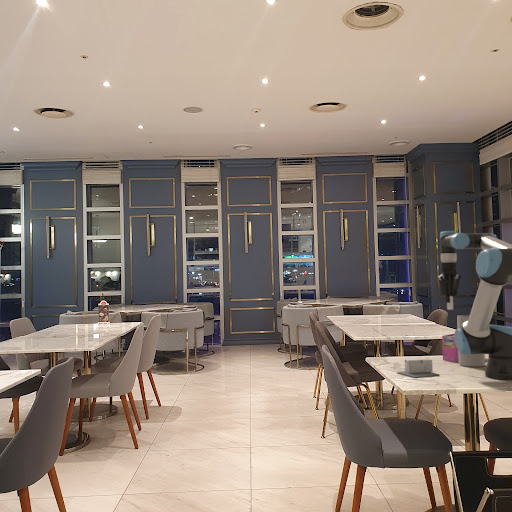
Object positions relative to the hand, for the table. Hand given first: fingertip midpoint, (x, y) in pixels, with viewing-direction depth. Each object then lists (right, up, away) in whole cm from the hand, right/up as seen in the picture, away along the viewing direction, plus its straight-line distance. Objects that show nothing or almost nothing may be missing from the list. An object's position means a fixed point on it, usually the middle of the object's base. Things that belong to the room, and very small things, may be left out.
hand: (450, 309), depth 258 cm
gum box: (+16, -31, +29) cm, 45 cm away
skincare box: (-13, -26, -11) cm, 31 cm away
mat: (-21, -29, -15) cm, 39 cm away
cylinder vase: (+14, -30, +8) cm, 34 cm away
